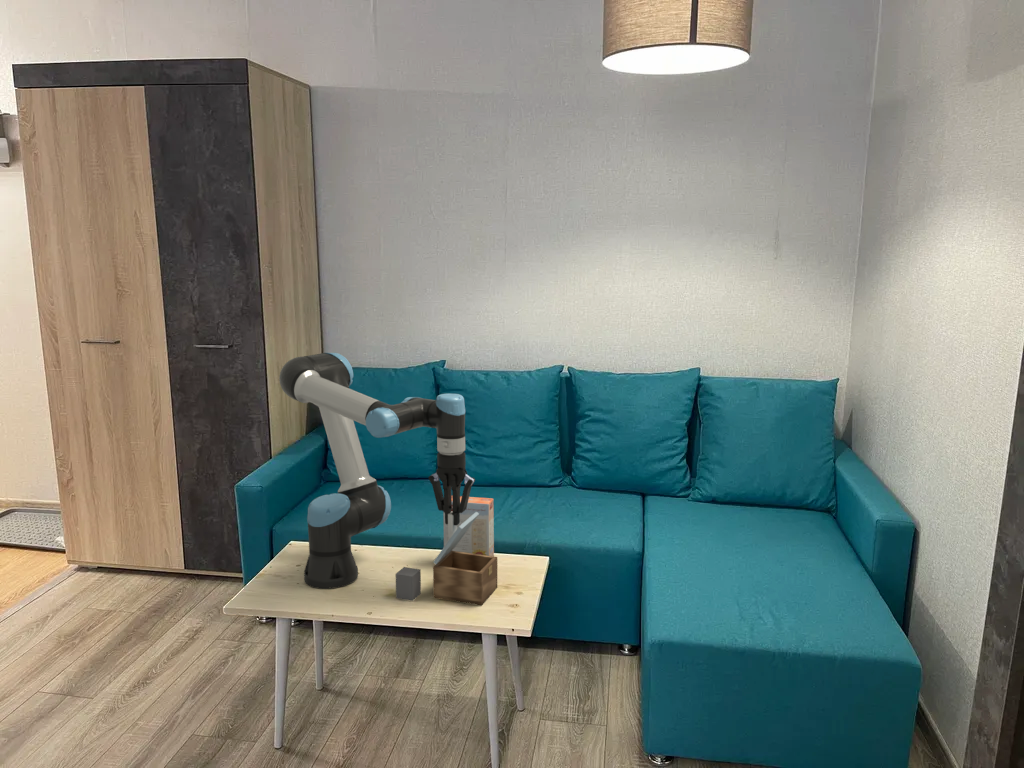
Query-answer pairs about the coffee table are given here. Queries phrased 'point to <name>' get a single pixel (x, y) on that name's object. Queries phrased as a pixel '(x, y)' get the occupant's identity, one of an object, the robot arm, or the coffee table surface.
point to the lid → (456, 537)
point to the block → (408, 583)
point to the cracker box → (476, 527)
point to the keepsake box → (465, 577)
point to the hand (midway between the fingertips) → (452, 535)
